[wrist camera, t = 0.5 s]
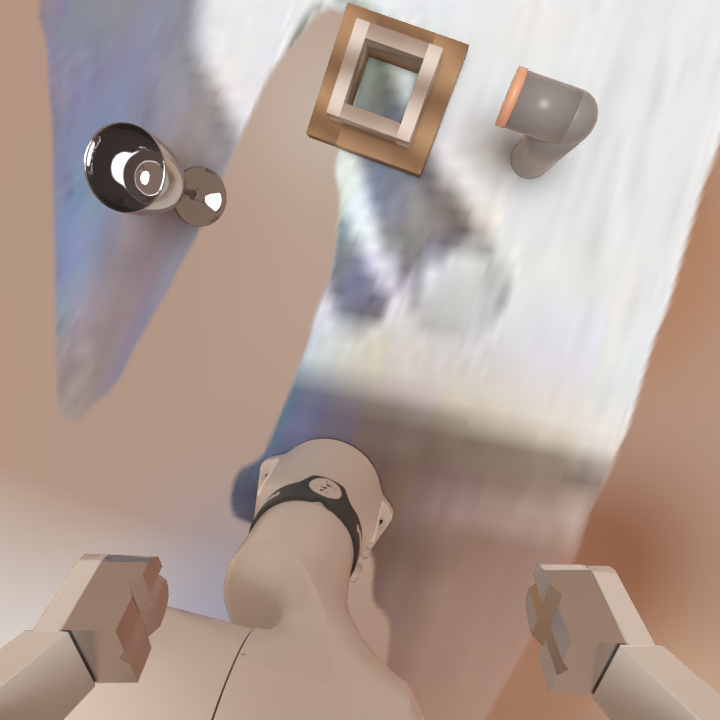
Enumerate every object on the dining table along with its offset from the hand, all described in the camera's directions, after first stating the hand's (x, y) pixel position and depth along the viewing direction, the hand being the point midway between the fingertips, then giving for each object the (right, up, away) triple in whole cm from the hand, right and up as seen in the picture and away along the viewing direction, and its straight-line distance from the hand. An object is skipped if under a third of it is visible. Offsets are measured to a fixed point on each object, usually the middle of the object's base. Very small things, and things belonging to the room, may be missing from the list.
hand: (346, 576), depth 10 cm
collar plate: (+3, +35, +42) cm, 55 cm away
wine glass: (-20, +25, +47) cm, 57 cm away
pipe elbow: (+18, +28, +42) cm, 53 cm away
